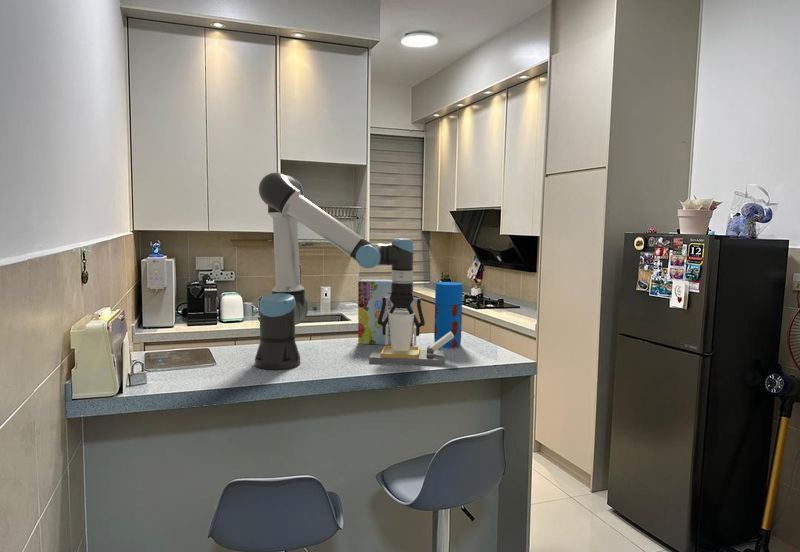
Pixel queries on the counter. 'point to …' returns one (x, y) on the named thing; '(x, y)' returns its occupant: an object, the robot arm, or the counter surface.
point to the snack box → (374, 311)
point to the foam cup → (401, 329)
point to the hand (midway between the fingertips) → (400, 344)
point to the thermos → (448, 312)
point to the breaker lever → (440, 343)
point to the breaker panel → (406, 356)
